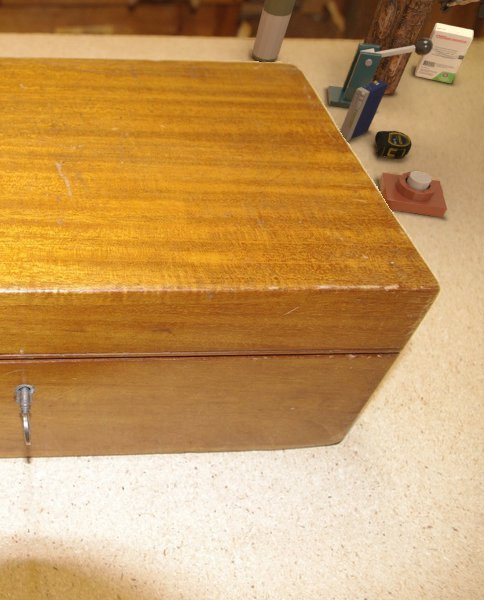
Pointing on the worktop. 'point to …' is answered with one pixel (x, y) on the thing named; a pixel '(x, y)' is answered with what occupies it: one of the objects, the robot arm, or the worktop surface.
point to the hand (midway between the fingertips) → (462, 10)
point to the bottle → (272, 29)
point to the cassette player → (363, 109)
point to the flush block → (412, 195)
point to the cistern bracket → (356, 75)
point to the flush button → (419, 180)
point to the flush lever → (408, 49)
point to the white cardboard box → (444, 53)
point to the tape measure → (392, 144)
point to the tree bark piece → (396, 35)
